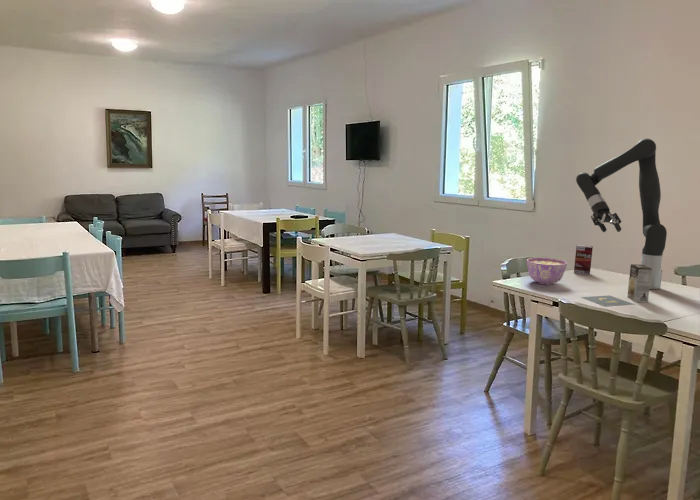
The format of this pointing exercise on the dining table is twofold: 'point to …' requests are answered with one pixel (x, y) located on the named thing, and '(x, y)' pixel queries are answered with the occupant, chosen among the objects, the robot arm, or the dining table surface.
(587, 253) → the supplement box
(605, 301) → the mat
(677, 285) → the dining table surface
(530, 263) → the bowl of food
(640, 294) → the coffee box
